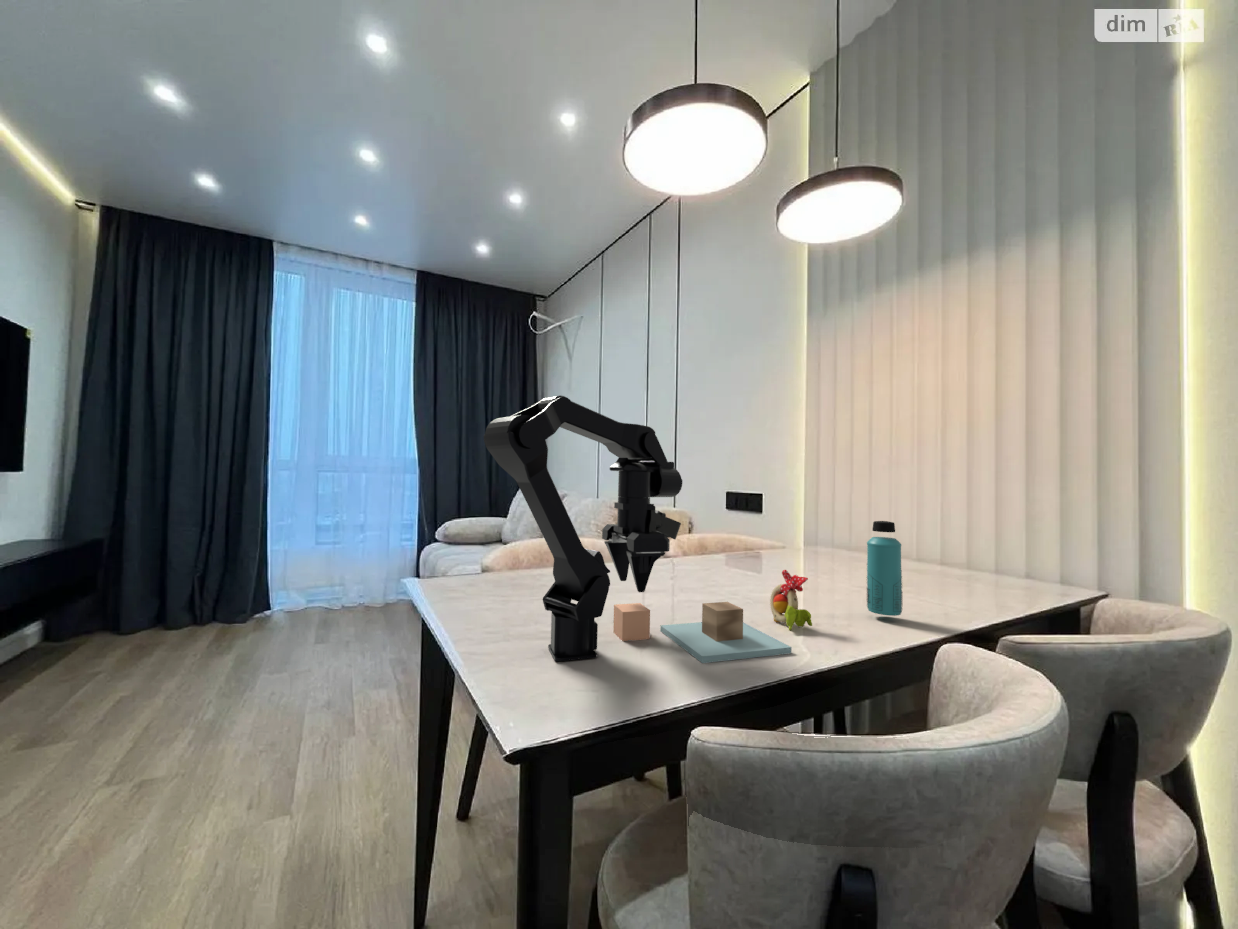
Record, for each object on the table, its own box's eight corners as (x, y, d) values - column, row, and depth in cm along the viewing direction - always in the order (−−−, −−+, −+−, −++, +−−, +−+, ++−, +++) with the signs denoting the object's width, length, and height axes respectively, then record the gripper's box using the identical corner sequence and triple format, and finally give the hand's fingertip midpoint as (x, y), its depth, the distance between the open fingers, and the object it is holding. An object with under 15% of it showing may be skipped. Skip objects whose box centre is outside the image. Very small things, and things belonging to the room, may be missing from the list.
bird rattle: (764, 635, 94) (796, 628, 86) (751, 577, 98) (780, 566, 91) (789, 632, 96) (823, 625, 89) (775, 576, 101) (805, 565, 93)
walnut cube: (716, 641, 80) (717, 611, 80) (701, 632, 85) (702, 603, 85) (742, 639, 81) (743, 609, 82) (727, 630, 86) (727, 601, 86)
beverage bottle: (909, 624, 96) (909, 522, 97) (875, 623, 96) (876, 522, 97) (891, 614, 103) (891, 520, 103) (859, 614, 103) (860, 519, 103)
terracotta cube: (622, 641, 82) (622, 612, 82) (613, 632, 87) (613, 604, 87) (649, 639, 84) (650, 610, 84) (639, 630, 88) (640, 603, 89)
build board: (702, 663, 73) (702, 656, 73) (660, 630, 88) (660, 625, 88) (791, 653, 78) (791, 647, 78) (737, 624, 93) (737, 619, 93)
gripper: (699, 500, 80) (697, 596, 79) (655, 496, 97) (653, 574, 97) (636, 499, 76) (633, 599, 76) (602, 495, 94) (600, 576, 93)
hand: (631, 586), depth 85 cm, fingers open, 9 cm apart
